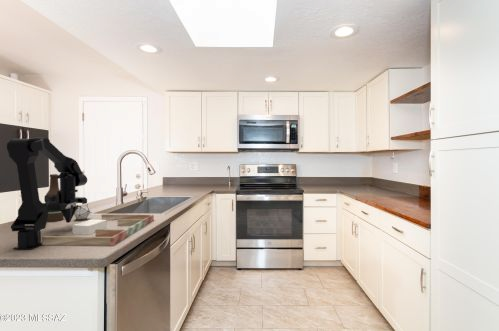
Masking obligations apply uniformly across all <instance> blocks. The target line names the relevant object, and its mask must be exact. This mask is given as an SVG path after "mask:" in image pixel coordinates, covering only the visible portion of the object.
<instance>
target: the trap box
mask: <svg viewBox="0 0 499 331" xmlns="http://www.w3.org/2000/svg"><path fill="white" fill-rule="evenodd" d="M154 216H155V215H154V214H114V213H113V214H111V213H109V214H108V213H107V214H106V213H105V214H104V213H103V214H101V216H100V218H101V220H107V221H108V222H109V221H110V220H118V221H117V227H127V228H126V229H119V228H118V229H116V228H115V229H114V228H113V229H112V228H111V229H110V228H109V229H107V228H105V229H96V230H95V233H94V234H95V235H94V236H60V235H59V236H58V235H57V236H51V235H49V236H48V235H44V236H41V242H42V245H41V246H87V247H89V246H90V247H91V246H98V247H99V246H101V247H102V246H105V247H107V246H109V247H113V246H115V245H117V244H118V243H120V242H122V241H123V240H125V239H127V238H128V237H130V236H131V235H132V234H135V233H136V232H137V231H139V230H140V229H142V228H144V227H145V226H148V225H149V224H150V223H152V222H154V220H155V219H154Z"/></svg>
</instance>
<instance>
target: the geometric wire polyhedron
mask: <svg viewBox="0 0 499 331" xmlns="http://www.w3.org/2000/svg"><path fill="white" fill-rule="evenodd" d="M88 205H89V203H88V204H87V203H86V204H84V205H78V204H76V206H79V207H78V209H77V210H76V212H75V214H74V216H73V217H75V221H77V220H85V221H88V219H87V218H88V217H89V216H90V214H92V212H91V210H90V208H89V206H88Z"/></svg>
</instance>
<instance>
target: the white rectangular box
mask: <svg viewBox="0 0 499 331" xmlns="http://www.w3.org/2000/svg"><path fill="white" fill-rule="evenodd" d="M107 221H108V220H102V219H92V218H91V219H89V220H88V219H87V220H85V221H82V222H79V223H78V222H77V223H76V224H72V234H73V235H74V234H75V235H88V236H89V235H92V234H95V230H96V229H107V228H108V226H107V225H108V222H107Z"/></svg>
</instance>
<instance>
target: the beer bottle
mask: <svg viewBox="0 0 499 331" xmlns="http://www.w3.org/2000/svg"><path fill="white" fill-rule="evenodd" d="M58 175H59V174H56V173H54V174H53V173H52V174H49V188H48V191H47V193H46V194H45V195H49V194H51V195H52V196H53V195H56V194H57V191H60V184H59V178H57V176H58ZM44 203H46V202H45V201H44ZM46 204H48V202H47V203H46ZM48 212H49V213H47V214H48V219H47V223H54V222H60V221H64V220H65V218H64V216H63V214H62V212H61V211H60V210H48Z"/></svg>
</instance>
